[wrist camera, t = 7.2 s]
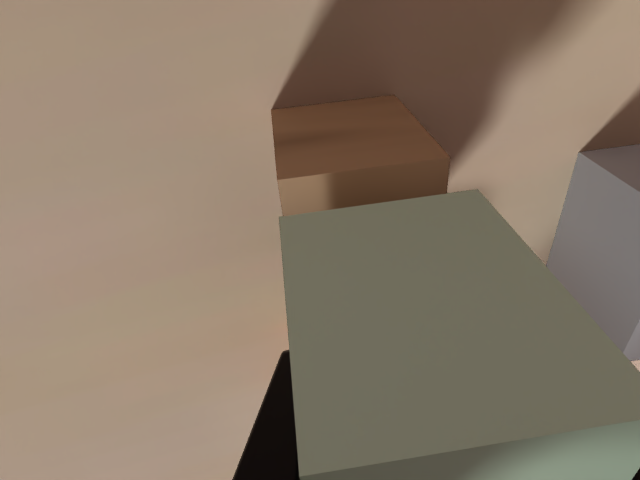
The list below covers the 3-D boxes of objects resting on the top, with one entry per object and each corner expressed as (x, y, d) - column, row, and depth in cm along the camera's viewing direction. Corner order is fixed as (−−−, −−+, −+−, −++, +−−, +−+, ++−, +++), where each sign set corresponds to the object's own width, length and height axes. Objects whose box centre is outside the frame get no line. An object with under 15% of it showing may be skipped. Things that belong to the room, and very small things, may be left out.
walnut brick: (391, 243, 17) (432, 335, 13) (293, 256, 17) (304, 355, 13) (394, 93, 14) (450, 157, 10) (270, 108, 14) (277, 180, 10)
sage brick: (451, 377, 12) (550, 600, 8) (310, 399, 12) (337, 639, 8) (477, 189, 9) (676, 413, 5) (278, 216, 8) (300, 477, 4)
